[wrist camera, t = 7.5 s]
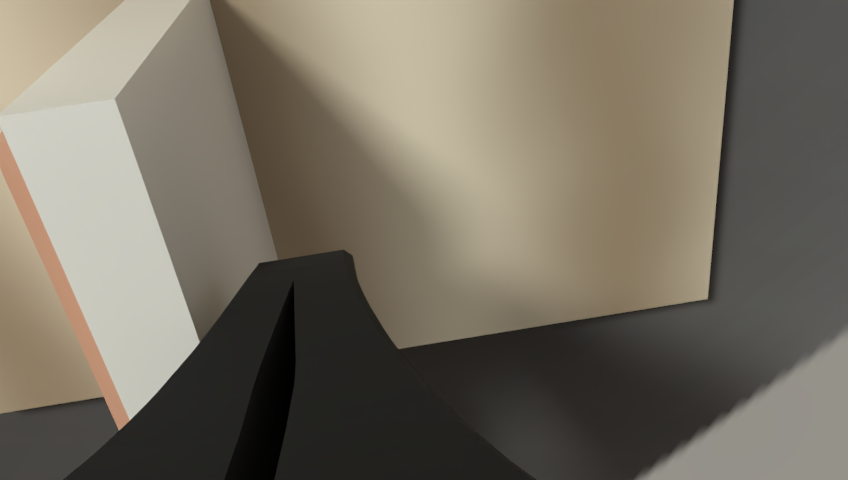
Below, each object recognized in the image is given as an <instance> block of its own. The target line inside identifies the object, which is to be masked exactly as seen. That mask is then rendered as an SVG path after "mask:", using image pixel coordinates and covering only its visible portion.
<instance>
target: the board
mask: <svg viewBox="0 0 848 480" xmlns="http://www.w3.org/2000/svg"><path fill="white" fill-rule="evenodd" d="M124 1H125V0H0V113H1V112H2V111H3V110H4V109H5V108H6V107H7V106H9V105H10V104H11V103H12V102H13V101H14V100H15V99H16V98H17V97H19V96H20V95H21V94H22V93H23V92H24V91H25V90H26V89H27V88H28V87H30V86H31V85H32V84H33V83H34V82H35V81H36V80H37V79H38V78H40V77H41V76H42V75H43V74H44V73H45V72H46V71H47V70H48V69H49V68H51V67H52V66H53V65H54V64H55V63H56V62H57V61H58V60H59V59H61V58H62V57H63V56H64V55H65V54H66V53H67V52H68V51H69V50H70V49H72V48H73V47H74V46H75V45H76V44H77V43H78V42H79V41H80V40H82V39H83V38H84V37H85V36H86V35H87V34H88V33H89V32H90V31H91V30H93V29H94V28H95V27H96V26H97V25H98V24H99V23H100V22H101V21H103V20H104V19H105V18H106V17H107V16H108V15H109V14H110V13H111V12H112V11H114V10H115V9H116V8H117V7H118V6H119V5H120V4H121V3H122V2H124ZM210 3H211V7H212V11H213V15H214V18H215V22H216V26H217V30H218V34H219V37H220V41H221V45H222V49H223V53H224V56H225V60H226V64H227V68H228V72H229V75H230V79H231V83H232V87H233V91H234V94H235V98H236V102H237V106H238V110H239V113H240V117H241V121H242V125H243V129H244V132H245V136H246V140H247V144H248V148H249V151H250V155H251V159H252V163H253V167H254V170H255V174H256V178H257V182H258V186H259V189H260V193H261V197H262V201H263V205H264V208H265V212H266V216H267V220H268V224H269V227H270V231H271V235H272V239H273V243H274V246H275V250H276V254H277V258H278V260H281V259H288V258H294V257H300V256H306V255H313V254H319V253H325V252H331V251H338V250H345V251H347V252H348V253H350V254H351V255H353V259H354V264H355V269H356V274H357V279H358V282H359V284H360V287H361V289H362V291H363V293H364V295H365V297H366V299H367V301H368V303H369V305H370V307H371V308H372V310H373V312H374V313H375V315H376V317H377V318H378V320H379V321H380V323H381V325H382V326H383V328H384V330H385V331H386V333H387V334H388V336H389V337H390V338H391V340H392V341H393V343H394V344H395V345H396V347H397V348H398V349H402V348H408V347H414V346H420V345H426V344H433V343H439V342H445V341H451V340H457V339H463V338H470V337H476V336H482V335H488V334H494V333H501V332H507V331H513V330H519V329H525V328H531V327H538V326H544V325H550V324H556V323H562V322H569V321H575V320H581V319H587V318H593V317H599V316H606V315H612V314H618V313H624V312H630V311H637V310H643V309H649V308H655V307H661V306H667V305H674V304H680V303H686V302H692V301H698V300H705V299H708V290H709V279H710V268H711V256H712V245H713V233H714V222H715V210H716V199H717V188H718V176H719V165H720V153H721V142H722V131H723V119H724V108H725V96H726V85H727V73H728V62H729V51H730V39H731V28H732V16H733V5H734V0H210ZM1 132H2V129H1V127H0V133H1ZM99 397H104V396H103V394H102V392H101V390H100V387H99V385H98V383H97V381H96V379H95V376H94V374H93V372H92V370H91V368H90V365H89V363H88V361H87V359H86V357H85V354H84V352H83V350H82V348H81V346H80V343H79V341H78V339H77V337H76V335H75V332H74V330H73V328H72V326H71V324H70V321H69V319H68V317H67V315H66V313H65V310H64V308H63V306H62V304H61V302H60V299H59V297H58V295H57V293H56V291H55V288H54V286H53V284H52V282H51V280H50V277H49V275H48V273H47V271H46V269H45V266H44V264H43V262H42V260H41V258H40V255H39V253H38V251H37V249H36V247H35V244H34V242H33V240H32V238H31V236H30V233H29V231H28V229H27V227H26V225H25V222H24V220H23V218H22V216H21V214H20V211H19V209H18V207H17V205H16V203H15V200H14V198H13V196H12V194H11V192H10V189H9V187H8V185H7V183H6V181H5V178H4V176H3V174H2V172H1V170H0V413H6V412H12V411H18V410H24V409H31V408H37V407H43V406H49V405H55V404H62V403H68V402H74V401H80V400H86V399H92V398H99Z"/></svg>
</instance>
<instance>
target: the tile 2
mask: <svg viewBox="0 0 848 480" xmlns="http://www.w3.org/2000/svg"><path fill="white" fill-rule="evenodd" d="M0 127H1V129H2V132H1V133H0V170H1V172H2V174H3V176H4V178H5V181H6V183H7V185H8V187H9V189H10V192H11V194H12V196H13V198H14V200H15V203H16V205H17V207H18V209H19V211H20V214H21V216H22V218H23V220H24V222H25V225H26V227H27V229H28V231H29V233H30V236H31V238H32V240H33V242H34V244H35V247H36V249H37V251H38V253H39V255H40V258H41V260H42V262H43V264H44V266H45V269H46V271H47V273H48V275H49V277H50V280H51V282H52V284H53V286H54V288H55V291H56V293H57V295H58V297H59V299H60V302H61V304H62V306H63V308H64V310H65V313H66V315H67V317H68V319H69V321H70V324H71V326H72V328H73V330H74V332H75V335H76V337H77V339H78V341H79V343H80V346H81V348H82V350H83V352H84V354H85V357H86V359H87V361H88V363H89V365H90V368H91V370H92V372H93V374H94V376H95V379H96V381H97V383H98V385H99V387H100V390H101V392H102V394H103V396H104V398H105V401H106V403H107V405H108V407H109V409H110V412H111V414H112V416H113V418H114V420H115V423H116V425H117V427H118V429H119V430H120V429H121V428H123V427H124V426H125V425H126V424H127V423H128V422H129V421H130V420H131V419H132V418H133V417H134V416H135V415H136V414H137V413H138V412H139V411H140V410H141V409H142V408H143V407H144V406H145V405H146V404H147V403H148V402H149V401H150V400H151V398H152V397H153V396H154V395H155V394H156V393H157V392H158V391H159V390H160V389H161V387H162V386H163V385H164V384H165V383H166V382H167V381H168V379H169V378H170V377H171V376H172V375H173V374H174V372H175V371H176V370H177V369H178V368H179V367H180V365H181V364H182V363H183V362H184V361H185V360H186V359H187V357H188V356H189V355H190V354H191V353H192V352H193V350H194V349H195V348H196V347H197V345H198V344H199V343H200V341H201V340H202V339H203V338H204V336H205V335H206V334H207V332H208V331H209V330H210V328H211V327H212V326H213V325H214V323H215V322H216V321H217V319H218V318H219V317H220V315H221V314H222V313H223V311H224V310H225V309H226V307H227V306H228V304H229V303H230V302H231V300H232V299H233V298H234V296H235V295H236V293H237V292H238V291H239V289H240V288H241V287H242V285H243V284H244V282H245V281H246V280H247V278H248V277H249V276H250V274H251V273H252V272H253V271H254V269H255V268H256V267H257V265H258V264H259V263H263V262H269V261H275V260H278V258H277V254H276V250H275V246H274V243H273V239H272V235H271V231H270V227H269V224H268V220H267V216H266V212H265V208H264V205H263V201H262V197H261V193H260V189H259V186H258V182H257V178H256V174H255V170H254V167H253V163H252V159H251V155H250V151H249V148H248V144H247V140H246V136H245V132H244V129H243V125H242V121H241V117H240V113H239V110H238V106H237V102H236V98H235V94H234V91H233V87H232V83H231V79H230V75H229V72H228V68H227V64H226V60H225V56H224V53H223V49H222V45H221V41H220V37H219V34H218V30H217V26H216V22H215V18H214V15H213V11H212V7H211V3H210V0H125V1H124V2H122V3H121V4H120V5H119V6H118V7H117V8H116V9H115V10H114V11H112V12H111V13H110V14H109V15H108V16H107V17H106V18H105V19H104V20H103V21H101V22H100V23H99V24H98V25H97V26H96V27H95V28H94V29H93V30H91V31H90V32H89V33H88V34H87V35H86V36H85V37H84V38H83V39H82V40H80V41H79V42H78V43H77V44H76V45H75V46H74V47H73V48H72V49H70V50H69V51H68V52H67V53H66V54H65V55H64V56H63V57H62V58H61V59H59V60H58V61H57V62H56V63H55V64H54V65H53V66H52V67H51V68H49V69H48V70H47V71H46V72H45V73H44V74H43V75H42V76H41V77H40V78H38V79H37V80H36V81H35V82H34V83H33V84H32V85H31V86H30V87H28V88H27V89H26V90H25V91H24V92H23V93H22V94H21V95H20V96H19V97H17V98H16V99H15V100H14V101H13V102H12V103H11V104H10V105H9V106H7V107H6V108H5V109H4V110H3V111H2V112H1V113H0Z"/></svg>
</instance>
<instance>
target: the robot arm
mask: <svg viewBox="0 0 848 480" xmlns="http://www.w3.org/2000/svg"><path fill="white" fill-rule="evenodd" d="M63 480H536V479H535V478H533V477H532V476H530V475H529V474H528V473H526V472H525V471H523V470H522V469H521V468H519V467H518V466H517V465H515V464H514V463H512V462H511V461H510V460H509V459H507V458H506V457H505V456H504V455H503V454H501V453H500V452H499V451H498V450H497V449H495V448H494V447H493V446H492V445H491V444H489V443H488V442H487V441H486V440H485V439H483V438H482V437H481V436H480V435H479V434H477V433H476V432H475V431H474V430H473V429H471V428H470V427H469V426H468V425H467V424H465V423H464V422H463V421H462V420H461V419H460V418H459V417H458V416H457V415H456V414H455V413H454V412H453V411H452V410H451V409H450V408H449V407H448V406H447V405H446V404H445V403H444V402H443V401H442V400H441V399H440V398H439V397H438V396H437V395H436V394H435V393H434V392H433V391H432V389H431V388H430V387H429V386H428V385H427V384H426V383H425V382H424V381H423V380H422V378H421V377H420V376H419V375H418V374H417V373H416V371H415V370H414V369H413V368H412V366H411V365H410V364H409V363H408V361H407V360H406V359H405V358H404V356H403V355H402V353H401V352H400V351H399V349H398V348H397V347H396V345H395V344H394V343H393V341H392V340H391V338H390V337H389V336H388V334H387V333H386V331H385V330H384V328H383V326H382V325H381V323H380V321H379V320H378V318H377V317H376V315H375V313H374V312H373V310H372V308H371V307H370V305H369V303H368V301H367V299H366V297H365V295H364V293H363V291H362V289H361V287H360V284H359V282H358V279H357V274H356V269H355V264H354V259H353V255H351V254H350V253H348V252H347V251H345V250H338V251H331V252H325V253H319V254H313V255H306V256H300V257H294V258H288V259H281V260H275V261H269V262H263V263H259V264H258V265H257V267H256V268H255V269H254V271H253V272H252V273H251V274H250V276H249V277H248V278H247V280H246V281H245V282H244V284H243V285H242V287H241V288H240V289H239V291H238V292H237V293H236V295H235V296H234V298H233V299H232V300H231V302H230V303H229V304H228V306H227V307H226V309H225V310H224V311H223V313H222V314H221V315H220V317H219V318H218V319H217V321H216V322H215V323H214V325H213V326H212V327H211V328H210V330H209V331H208V332H207V334H206V335H205V336H204V338H203V339H202V340H201V341H200V343H199V344H198V345H197V347H196V348H195V349H194V350H193V352H192V353H191V354H190V355H189V356H188V357H187V359H186V360H185V361H184V362H183V363H182V364H181V365H180V367H179V368H178V369H177V370H176V371H175V372H174V374H173V375H172V376H171V377H170V378H169V379H168V381H167V382H166V383H165V384H164V385H163V386H162V387H161V389H160V390H159V391H158V392H157V393H156V394H155V395H154V396H153V397H152V398H151V400H150V401H149V402H148V403H147V404H146V405H145V406H144V407H143V408H142V409H141V410H140V411H139V412H138V413H137V414H136V415H135V416H134V417H133V418H132V419H131V420H130V421H129V422H128V423H127V424H126V425H125V426H124V427H123V428H121V429H120V430H119V431H118V432H117V433H116V434H115V435H114V436H113V437H112V438H111V439H110V440H109V441H108V442H107V443H106V444H105V445H104V446H102V447H101V448H100V449H99V450H98V451H97V452H96V453H95V454H94V455H92V456H91V457H90V458H89V459H88V460H87V461H85V462H84V463H83V464H82V465H81V466H79V467H78V468H77V469H76V470H74V471H73V472H72V473H71V474H70V475H68V476H67V477H66V478H65V479H63Z"/></svg>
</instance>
